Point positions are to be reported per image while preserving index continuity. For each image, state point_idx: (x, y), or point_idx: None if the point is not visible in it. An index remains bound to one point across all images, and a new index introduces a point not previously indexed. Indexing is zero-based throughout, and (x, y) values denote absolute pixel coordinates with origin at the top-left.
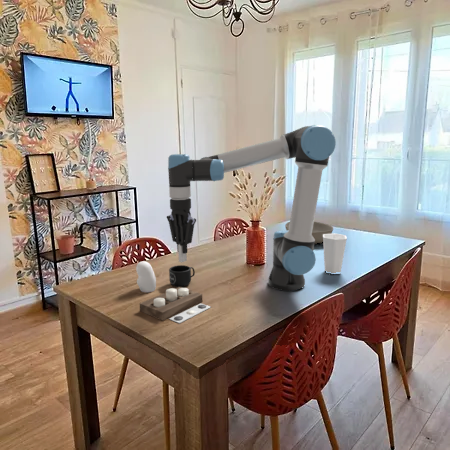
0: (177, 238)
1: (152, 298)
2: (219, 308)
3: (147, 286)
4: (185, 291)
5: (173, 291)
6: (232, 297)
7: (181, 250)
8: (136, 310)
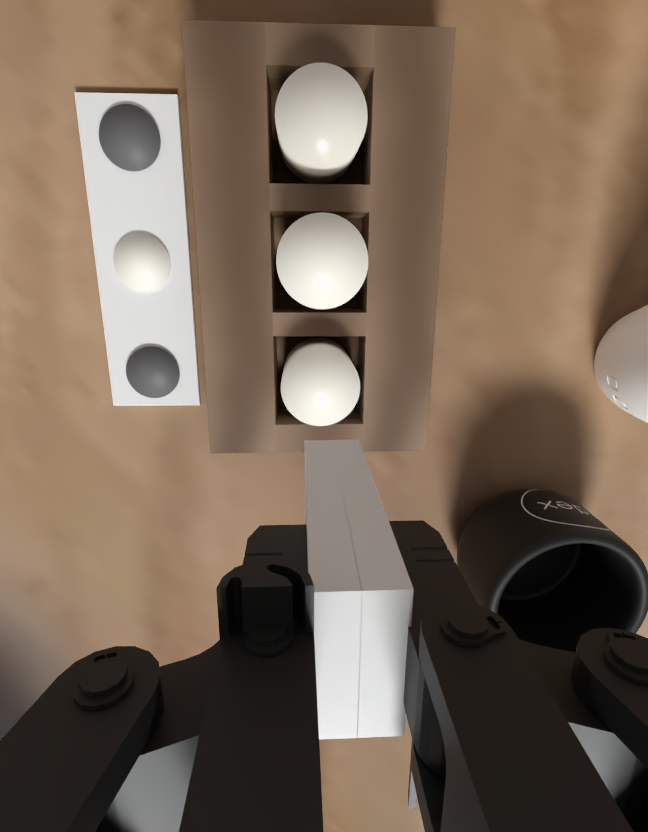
0: (500, 748)
1: (439, 170)
2: (69, 426)
3: (637, 325)
4: (284, 375)
5: (292, 256)
6: (130, 580)
7: (307, 531)
8: (467, 49)
